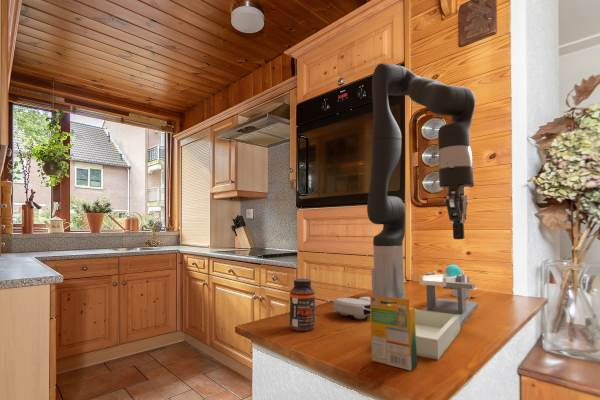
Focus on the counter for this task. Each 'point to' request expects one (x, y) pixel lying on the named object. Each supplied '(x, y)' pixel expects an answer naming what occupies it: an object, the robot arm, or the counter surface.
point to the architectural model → (467, 291)
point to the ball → (453, 270)
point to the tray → (435, 332)
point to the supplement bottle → (302, 306)
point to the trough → (445, 281)
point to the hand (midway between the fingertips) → (458, 239)
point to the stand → (450, 302)
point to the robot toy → (353, 306)
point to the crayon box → (393, 333)
